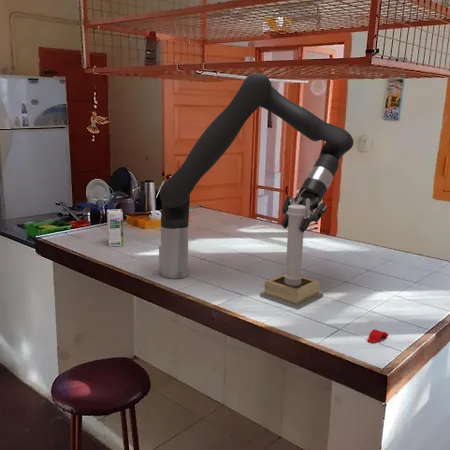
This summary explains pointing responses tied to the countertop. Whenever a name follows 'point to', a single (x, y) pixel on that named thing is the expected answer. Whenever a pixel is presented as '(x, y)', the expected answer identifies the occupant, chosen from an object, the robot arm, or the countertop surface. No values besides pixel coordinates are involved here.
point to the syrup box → (115, 227)
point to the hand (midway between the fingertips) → (292, 228)
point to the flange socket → (292, 292)
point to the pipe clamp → (376, 336)
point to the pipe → (294, 245)
